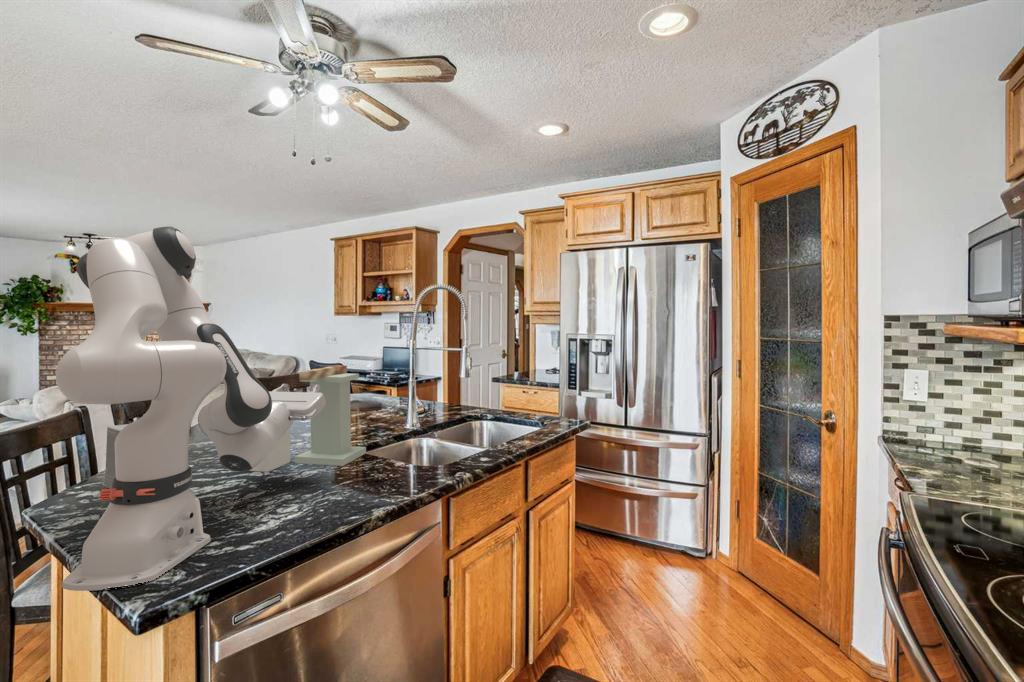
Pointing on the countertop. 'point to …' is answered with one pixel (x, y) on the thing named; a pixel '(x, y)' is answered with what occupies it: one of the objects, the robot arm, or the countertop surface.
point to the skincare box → (111, 453)
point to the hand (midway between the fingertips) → (301, 385)
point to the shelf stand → (332, 424)
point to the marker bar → (322, 372)
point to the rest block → (276, 455)
